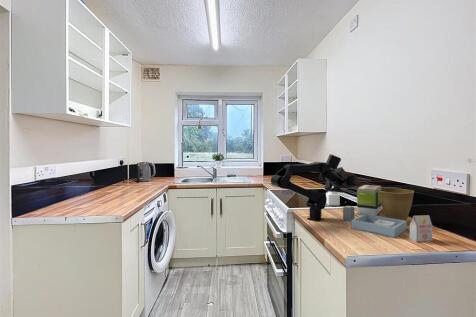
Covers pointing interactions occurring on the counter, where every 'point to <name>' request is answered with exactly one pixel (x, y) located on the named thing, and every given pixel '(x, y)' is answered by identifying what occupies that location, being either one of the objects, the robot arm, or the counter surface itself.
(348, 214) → the connector
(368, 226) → the walled box
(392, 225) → the frame
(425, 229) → the milk carton
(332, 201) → the medicine bottle
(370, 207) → the tea box
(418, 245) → the counter surface
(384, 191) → the plant pot
